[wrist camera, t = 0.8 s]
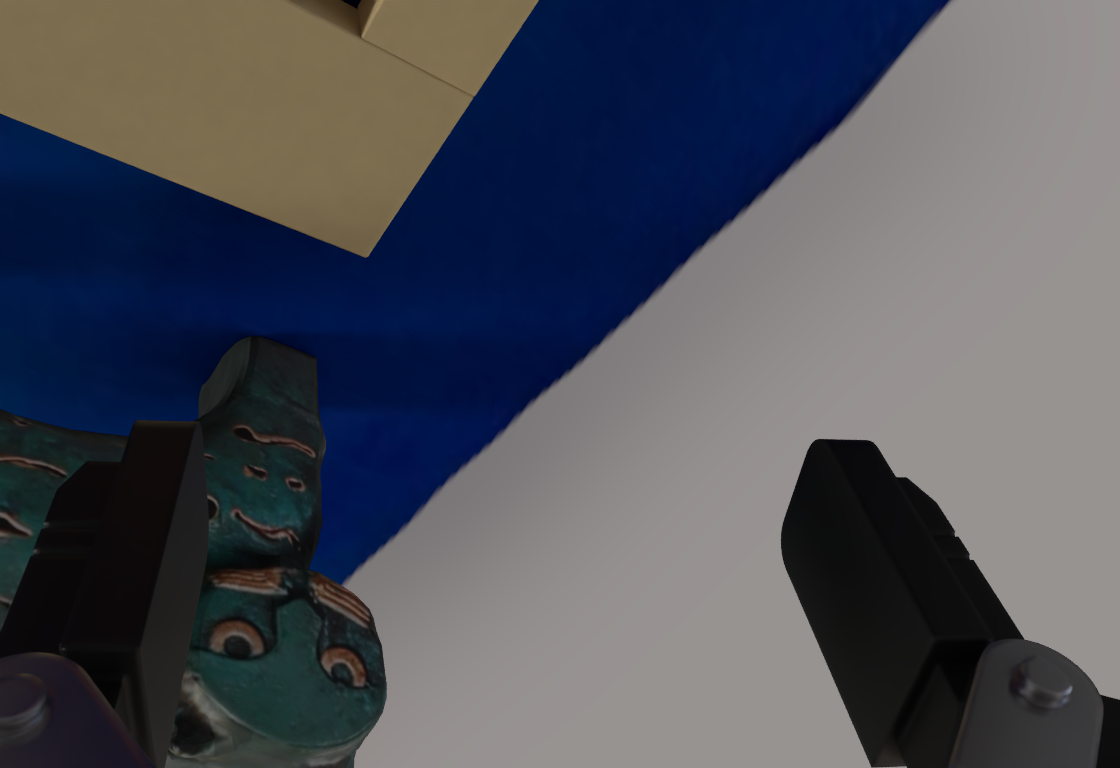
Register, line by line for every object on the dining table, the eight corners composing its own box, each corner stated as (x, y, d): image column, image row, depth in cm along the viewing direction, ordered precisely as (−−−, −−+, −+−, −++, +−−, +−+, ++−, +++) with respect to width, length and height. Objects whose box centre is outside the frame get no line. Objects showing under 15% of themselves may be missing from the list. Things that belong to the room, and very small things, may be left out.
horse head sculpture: (369, 353, 41) (421, 868, 27) (288, 450, 44) (299, 958, 30) (-222, 114, 30) (-632, 780, 16) (-275, 266, 33) (-658, 935, 19)
